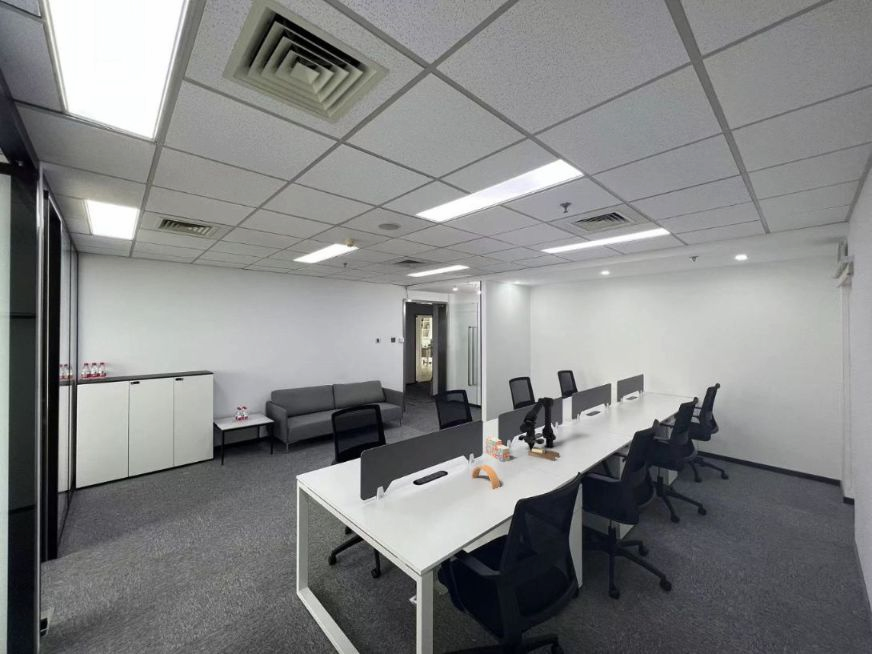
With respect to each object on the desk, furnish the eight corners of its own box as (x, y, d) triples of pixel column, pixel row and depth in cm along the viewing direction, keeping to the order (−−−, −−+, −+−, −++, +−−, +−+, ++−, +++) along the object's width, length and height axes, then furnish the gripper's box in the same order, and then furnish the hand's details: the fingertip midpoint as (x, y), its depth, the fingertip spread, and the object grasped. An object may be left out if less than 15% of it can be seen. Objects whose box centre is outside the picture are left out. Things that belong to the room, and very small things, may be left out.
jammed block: (534, 452, 267) (534, 446, 267) (545, 454, 262) (545, 448, 262) (531, 454, 262) (531, 448, 263) (542, 456, 258) (542, 450, 258)
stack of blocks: (509, 460, 251) (509, 443, 252) (502, 462, 249) (502, 445, 249) (492, 451, 271) (492, 436, 271) (485, 453, 268) (485, 437, 268)
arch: (492, 490, 205) (492, 473, 206) (471, 478, 222) (471, 462, 222) (500, 487, 209) (499, 470, 209) (478, 476, 225) (478, 460, 226)
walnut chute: (533, 451, 270) (533, 447, 270) (559, 456, 258) (559, 452, 258) (528, 455, 262) (528, 451, 262) (554, 461, 250) (554, 456, 250)
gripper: (515, 430, 266) (515, 451, 265) (538, 435, 254) (539, 456, 254) (521, 427, 274) (521, 447, 274) (544, 431, 263) (544, 452, 263)
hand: (531, 450), depth 266 cm, fingers closed
